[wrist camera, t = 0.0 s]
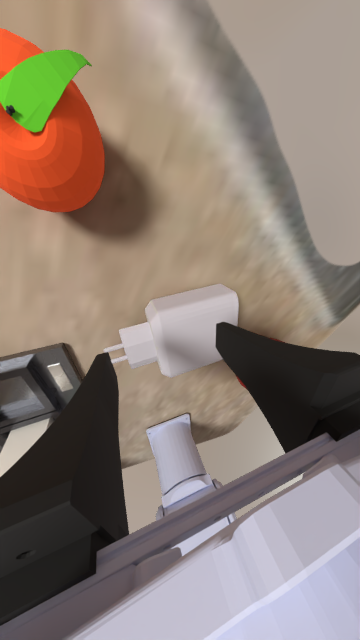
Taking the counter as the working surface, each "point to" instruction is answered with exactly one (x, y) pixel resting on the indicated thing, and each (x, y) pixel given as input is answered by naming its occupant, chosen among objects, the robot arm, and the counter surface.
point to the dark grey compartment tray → (35, 387)
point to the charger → (179, 330)
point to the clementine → (46, 128)
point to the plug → (21, 443)
